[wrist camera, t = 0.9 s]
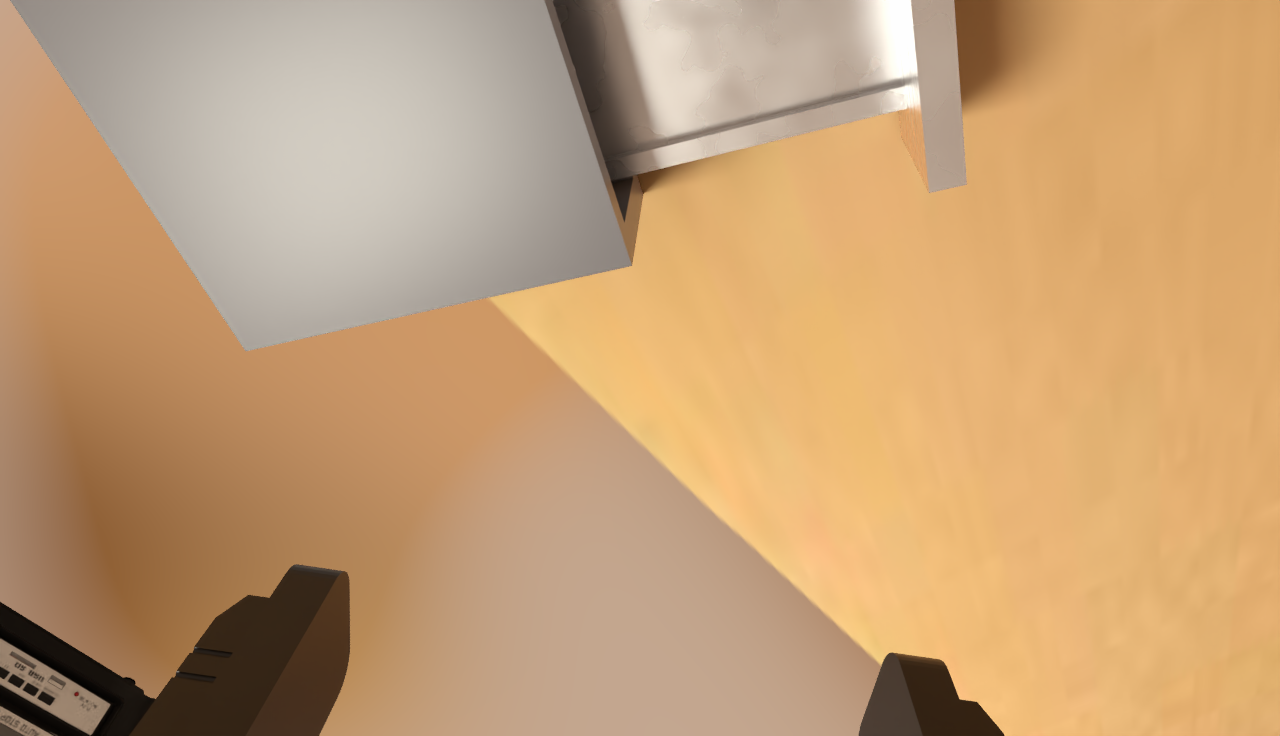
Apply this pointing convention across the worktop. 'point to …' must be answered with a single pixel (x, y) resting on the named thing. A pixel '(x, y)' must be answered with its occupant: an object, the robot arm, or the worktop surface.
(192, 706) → the robot arm
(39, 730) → the radio cassette player
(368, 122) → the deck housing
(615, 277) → the worktop surface
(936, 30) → the tray
